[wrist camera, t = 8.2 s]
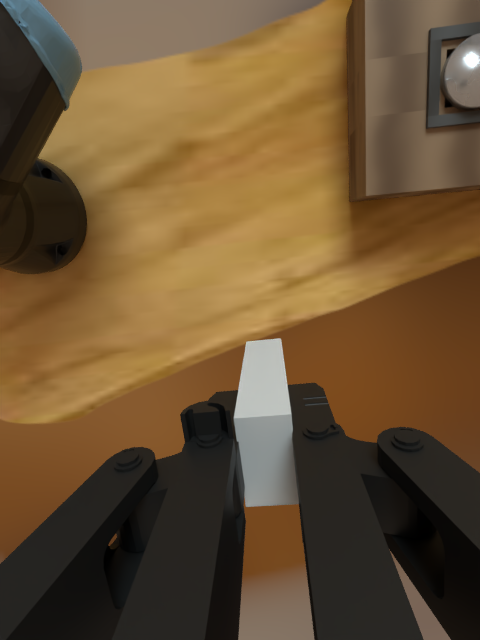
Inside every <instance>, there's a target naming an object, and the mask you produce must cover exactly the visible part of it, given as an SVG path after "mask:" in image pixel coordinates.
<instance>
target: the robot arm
mask: <svg viewBox="0 0 480 640" xmlns="http://www.w3.org/2000/svg"><path fill="white" fill-rule="evenodd" d="M81 72H82V65H81V59H80V56H79V54H78V51H77V49H76V47H75V45H74V44H73V42H72V41H71V39H70V38H69V36H68V35H67V34H66V32H65V31H64V30H63V28H62V27H61V26H60V25H59V24H58V22H57V21H56V20H55V19H54V18H53V16H51V14H50V13H49V12H48V11H47V10H46V8H45V7H44V6H43V5H42V4H41V3H40V2H39V1H38V0H0V267H1V268H4V269H7V270H11V271H14V272H18V273H23V274H41V273H46V272H51V271H55V270H57V269H60V268H62V267H64V266H65V265H67V264H68V263H69V262H70V261H72V260H73V258H74V257H75V256H76V255H77V253H78V252H79V250H80V249H81V247H82V244H83V242H84V238H85V234H86V226H87V219H86V211H85V207H84V203H83V200H82V198H81V195H80V193H79V191H78V189H77V188H76V186H75V185H74V183H73V182H72V181H71V179H70V178H69V177H68V176H67V175H66V174H65V173H64V172H63V171H62V170H60V169H59V168H58V167H56V166H55V165H53V164H51V163H49V162H47V161H45V160H42V159H39V158H38V156H39V154H40V152H41V150H42V149H43V147H44V145H45V143H46V141H47V139H48V138H49V136H50V134H51V132H52V130H53V128H54V127H55V125H56V123H57V121H58V119H59V117H60V116H61V114H62V112H63V110H64V111H66V110H67V109H68V108H69V99H70V97H71V95H72V93H73V91H74V89H75V87H76V85H77V83H78V81H79V79H80V76H81ZM180 416H181V422H182V427H183V433H184V438H185V444H184V447H183V449H182V452H180V453H178V454H175V455H172V456H169V457H166V458H162V459H158V460H155V454H154V452H153V451H152V450H150V449H148V448H144V447H136V448H135V447H134V448H130V449H125V450H123V451H121V452H119V453H117V454H115V455H113V456H112V457H111V458H109V459H108V460H107V461H106V462H105V463H104V464H103V465H102V466H101V467H100V468H99V469H98V470H97V471H95V472H94V473H93V474H92V475H91V476H90V477H89V478H88V479H87V480H86V481H85V482H84V483H83V484H82V485H81V486H80V487H79V488H78V489H77V490H76V491H75V492H74V493H73V494H72V495H71V496H70V497H69V498H68V499H67V500H66V501H65V502H64V503H63V504H62V505H61V506H59V507H58V508H57V510H55V511H54V512H53V513H52V514H51V515H50V516H49V517H48V518H47V519H46V520H45V521H44V522H43V523H42V524H41V525H40V526H39V527H38V528H37V529H36V530H35V531H34V532H33V533H32V534H31V535H30V536H29V537H28V538H27V539H26V540H25V541H23V542H22V543H21V544H20V546H18V547H17V548H16V549H15V550H14V551H13V552H12V553H11V554H10V555H9V556H8V557H7V558H6V559H5V560H4V561H3V562H2V563H1V564H0V640H238V634H239V633H238V632H239V617H240V602H241V587H242V571H243V555H244V539H245V524H246V520H245V513H244V506H243V504H244V496H245V503H246V507H250V506H269V505H287V504H288V505H289V504H299V507H300V519H301V529H302V538H303V544H304V553H305V561H306V570H307V578H308V587H309V596H310V604H311V613H312V621H313V630H314V639H315V640H423V637H422V634H421V632H420V629H419V626H418V624H417V621H416V619H415V616H414V613H413V611H412V608H411V605H410V603H409V600H408V598H407V595H406V593H405V590H404V587H403V585H402V582H401V579H400V577H399V574H398V571H397V569H396V566H395V563H394V561H393V558H392V556H391V553H390V551H391V552H392V554H393V555H394V557H395V558H396V560H397V561H398V562H399V564H400V565H401V567H402V568H403V570H404V571H405V573H406V574H407V576H408V577H409V579H410V580H411V582H412V583H413V585H414V586H415V587H416V589H417V590H418V592H419V593H420V595H421V596H422V598H423V599H424V601H425V602H426V604H427V605H428V606H429V608H430V609H431V611H432V612H433V614H434V615H435V617H436V618H437V620H438V621H439V622H440V624H441V625H442V627H443V628H444V630H445V631H446V633H447V634H448V636H449V637H450V639H451V640H480V473H479V472H478V471H476V470H475V469H474V468H472V467H471V466H470V465H469V464H467V463H466V462H464V461H463V460H462V459H461V458H459V457H458V456H457V455H455V454H454V453H453V452H451V451H450V450H449V449H448V448H447V447H445V446H444V445H443V444H441V443H440V442H439V441H438V440H436V439H435V438H434V437H432V436H430V435H429V434H427V433H425V432H423V431H420V430H417V429H413V428H408V427H407V428H406V427H399V428H390V429H388V430H385V431H383V432H382V433H381V434H379V435H378V439H377V443H372V442H364V441H359V440H355V439H352V438H349V437H348V436H346V435H345V433H344V430H343V429H342V428H341V426H340V425H338V424H336V423H335V420H334V417H333V414H332V412H331V409H330V406H329V404H328V400H327V398H326V395H325V392H324V389H323V388H321V387H320V386H318V385H317V384H316V383H306V384H295V385H287V379H286V372H285V364H284V357H283V351H282V343H281V339H270V340H259V341H249V342H246V348H245V354H244V360H243V366H242V372H241V378H240V384H239V390H236V391H224V392H216V393H215V394H214V395H213V396H212V397H211V398H210V399H209V400H208V401H204V402H199V403H196V404H193V405H191V406H189V407H187V408H186V409H184V410H183V412H182V413H181V414H180ZM115 534H117V538H116V540H115V541H114V542H113V543H112V544H111V545H110V546H108V544H109V542H110V540H111V539H112V537H113V536H114V535H115ZM389 549H390V550H389Z"/></svg>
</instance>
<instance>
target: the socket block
mask: <svg viewBox="0 0 480 640" xmlns="http://www.w3.org/2000/svg"><path fill="white" fill-rule="evenodd" d="M479 33H480V0H353V1H352V4H351V6H350V9H349V12H348V15H347V77H348V139H349V200H350V202H354V201H364V200H374V199H385V198H395V197H406V196H416V195H426V194H437V193H447V192H458V191H468V190H478V189H480V108H479V109H476V110H468V111H466V110H460V109H457V108H455V107H448V108H444V106H445V98H444V96H443V94H442V91H441V86H440V76H441V71H442V68H443V65H444V63H445V61H446V59H447V58H448V56H449V55H450V54H451V53H452V52H453V51H454V50H455V49H456V48H457V47H458V46H459V45H460V44H461V43H462V42H463V41H464V40H466V39H467V38H469V37H471V36H473V35H475V34H479Z"/></svg>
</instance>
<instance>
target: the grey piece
mask: <svg viewBox="0 0 480 640" xmlns="http://www.w3.org/2000/svg"><path fill="white" fill-rule="evenodd" d="M440 86H441V91H442V94H443V96H444V98H445V106H444V108H448V107H455V108H457V109H460V110H466V111H468V110H476V109H479V108H480V33H479V34H475V35H473V36H471V37H469V38H467V39H466V40H464V41H463V42H462V43H461V44H460V45H459V46H458V47H457V48H456V49H455V50H454V51H453V52H452V53H451V54H450V55H449V56H448V58H447V59H446V61H445V63H444V65H443V68H442V71H441V76H440Z"/></svg>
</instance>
